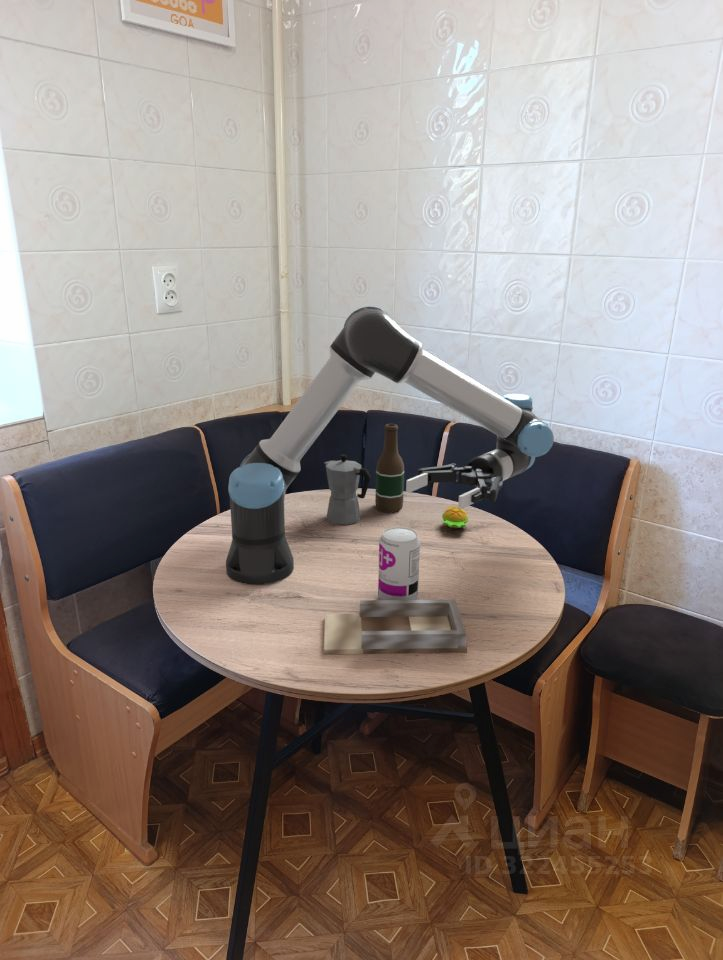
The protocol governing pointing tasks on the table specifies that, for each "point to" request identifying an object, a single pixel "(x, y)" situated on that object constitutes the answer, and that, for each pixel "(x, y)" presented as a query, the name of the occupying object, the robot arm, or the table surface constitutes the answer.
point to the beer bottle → (390, 474)
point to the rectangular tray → (397, 628)
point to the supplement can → (398, 564)
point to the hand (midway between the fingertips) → (432, 494)
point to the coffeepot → (345, 490)
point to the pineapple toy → (455, 517)
